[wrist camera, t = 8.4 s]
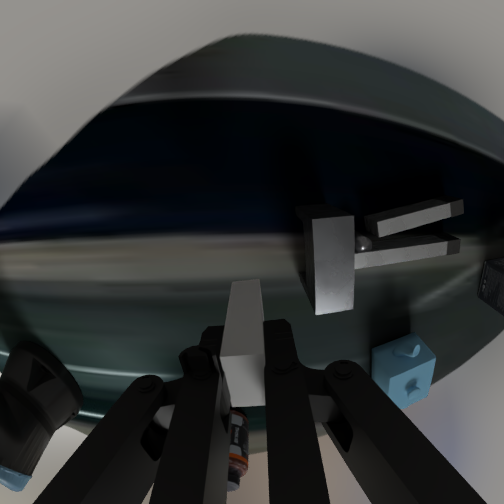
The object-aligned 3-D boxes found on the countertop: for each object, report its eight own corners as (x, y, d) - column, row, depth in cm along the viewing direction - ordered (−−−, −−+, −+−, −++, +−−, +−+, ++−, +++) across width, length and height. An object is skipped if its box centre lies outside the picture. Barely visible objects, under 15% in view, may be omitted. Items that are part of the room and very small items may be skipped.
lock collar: (300, 280, 26) (315, 314, 20) (295, 206, 24) (312, 219, 18) (329, 276, 26) (353, 308, 20) (326, 203, 24) (354, 215, 18)
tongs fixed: (324, 260, 26) (333, 272, 23) (322, 233, 25) (332, 241, 22) (442, 244, 26) (459, 252, 23) (443, 221, 25) (461, 227, 22)
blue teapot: (367, 321, 28) (395, 361, 21) (411, 305, 28) (445, 338, 21) (369, 389, 32) (387, 427, 24) (406, 374, 31) (429, 408, 24)
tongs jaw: (365, 230, 25) (379, 238, 22) (363, 215, 25) (377, 221, 22) (446, 208, 24) (463, 213, 21) (445, 195, 24) (462, 199, 21)
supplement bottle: (232, 401, 31) (228, 473, 21) (256, 423, 33) (259, 489, 22) (197, 414, 32) (185, 481, 21) (222, 434, 34) (218, 496, 23)
